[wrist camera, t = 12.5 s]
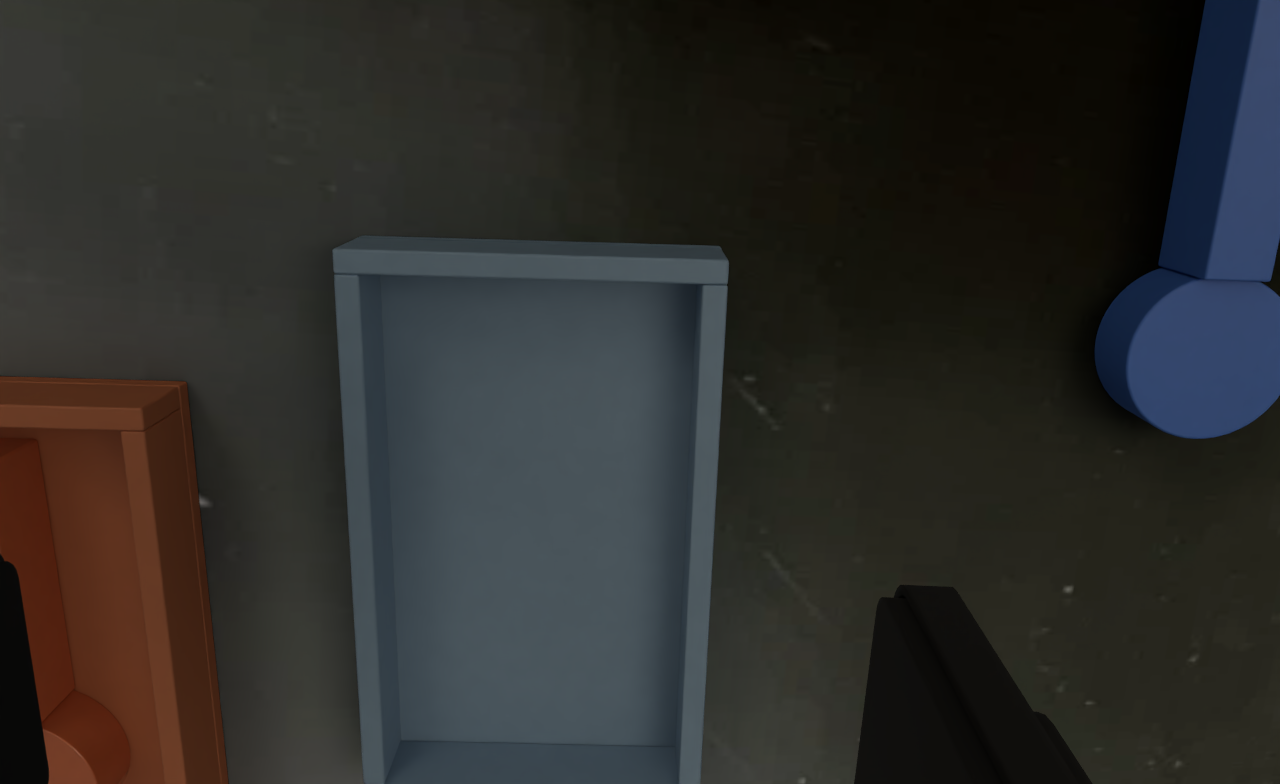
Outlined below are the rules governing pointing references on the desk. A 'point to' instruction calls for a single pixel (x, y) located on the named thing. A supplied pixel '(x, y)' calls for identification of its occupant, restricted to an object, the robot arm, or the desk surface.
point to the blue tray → (530, 504)
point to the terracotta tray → (130, 561)
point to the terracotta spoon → (53, 631)
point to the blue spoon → (1211, 247)
